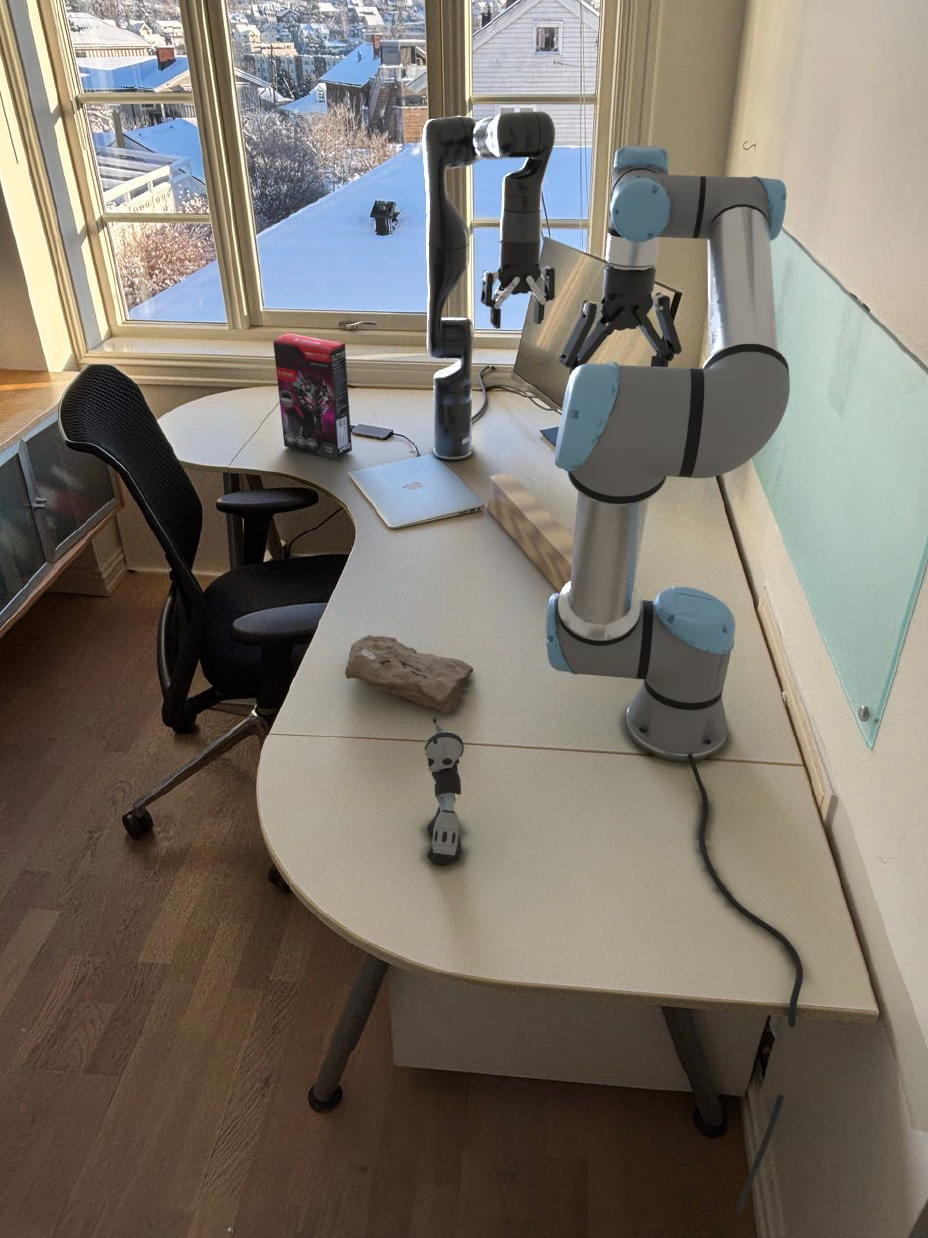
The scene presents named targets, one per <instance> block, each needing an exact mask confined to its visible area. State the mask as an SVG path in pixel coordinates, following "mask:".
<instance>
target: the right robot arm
mask: <svg viewBox="0 0 928 1238" xmlns="http://www.w3.org/2000/svg"><path fill="white" fill-rule="evenodd" d="M669 159H670V155H669V152H668V150H667V149H665V148H663V147H661V146H652V145H626V146H622V147H619V148H618V149H617V150H616V151H615V154H614V160H613V167H612V170H611V176H612V178H611V189H610V201H609V215H608V216H609V217H608V226H607V238H606V248H605V259H604V260H605V261H606V262H607V263H606V265H605V266H604V268H603V279H602V298H601V300H600V301H590V300H589V299H584V300H583V301H582V304H581V310H580V315H579V316H578V319H577V321H576V323H575V325H574V327H573V329H572V331H571V332H570V335H569V337H568V339H567V341H566V343H565V344H564V347H563V348H562V351H561V353H560V355H559V357H558V362H559V363H560V364H562V365H563V366H564V367H566V368H568V369H569V376H568V377H569V378H568V382H567V385H566V389H565V393H564V398H563V403H562V406H561V407H562V408H561V416H560V418H559V419H560V420H559V425H558V429H557V436H556V443H555V444H556V445H555V450H554V451H555V453H554V464H555V466H556V467H557V468H558V469H562V470H564V472H567V476H568V479H569V482H570V483H571V485H572V486H573V487H574V489H575V490H576V491H577V499H576V509H575V510H576V511H575V521H574V533H573V538H574V545H573V557H572V569H571V581H570V582H568V583H567V584H566V585H565V587H564V588H563V589H562V591H561V592H555V593H553V594H552V595H551V596H550V597H549V599H548V603H547V610H546V625H545V626H546V627H545V629H546V630H545V632H546V651H547V657H548V658H547V659H548V660H549V662H548V663H549V665H550V666H551V667H552V668H553V669H554V670H555V671H558V672H564V673H570V674H573V675H586V676H597V677H598V676H599V677H610V678H611V677H612V678H622V679H633V680H634V679H635V680H643V682H642V684H641V685H640V688H639V689H638V691H637V692H636V694H635V695H634V697H633V699H632V701H631V702H630V704H629V706H628V708H627V711H626V719H625V728H626V732H627V734H628V736H629V738H630V739H631V741H632V742H634V744H636V745H637V746H638V747H639V748H640V749H641V750H643V751H645V752H646V753H648V754H650V755H651V756H654V757H656V758H659V759H662V760H666V761H670V762H675V763H689V764H690V766H691V770H692V773H693V776H694V779H695V782H696V784H697V787H698V789H699V791H700V794H701V799H702V817H701V822H700V826H699V831H698V843H699V849H700V851H701V855H702V859H703V861H704V864H705V866H706V869H707V871H708V873H709V874H710V877H711V878H712V880H713V881H714V883H715V884H716V886H717V888H718V889H719V890H720V891H721V893H722V894H723V895H724V897H725V898H726V899H727V901H728V902H729V903H730V904H731V905H732V906H733V907H734V908H735V909H736V910H737V911H738V912H739V913H741V914H742V915H743V916H744V917H745V918H747V919H748V920H750V921H752V922H753V923H755V925H757V926H759V927H761V929H764V930H765V931H766V932H768V933H770V934H771V935H772V936H774V937H775V938H776V940H778V941H780V942H781V944H782V945H783V946H784V947H785V948H786V949H787V951H788V952H789V954H790V956H791V957H792V960H793V962H794V966H795V981H794V984H793V988H792V992H791V995H790V998H789V999H790V1000H789V1006H788V1007H789V1008H788V1015H787V1016H788V1017H787V1024H788V1026H789V1027H790V1028H795V1026H796V1017H797V1016H796V1014H797V1006H798V1001H799V996H800V992H801V989H802V988H801V987H802V984H803V979H804V969H803V964H802V961H801V958H800V956H799V953H798V952H797V950H796V949H795V947H794V946H793V944H792V943H791V942H790V941H789V939H787V937H785V935H783V934H782V933H781V932H780V931H779V930H777V929H776V928H774V927H773V926H771V925H770V924H769V923H768V922H766V921H764V920H763V919H761V918H759V917H758V916H756V915H755V914H754V913H752V912H751V911H749V910H748V909H746V908H745V907H744V906H743V905H742V904H741V903H739V902H738V900H737V899H736V898H735V897H734V895H733V894H732V893H731V892H730V891H729V890H728V889H727V887H726V886H725V885H724V883H723V882H722V880H721V879H720V877H719V876H718V873H717V872H716V871H715V869H714V867H713V864H712V862H711V860H710V856H709V853H708V850H707V846H706V841H705V839H706V838H705V837H706V828H707V824H708V818H709V811H710V810H709V809H710V807H709V806H710V805H709V798H708V794H707V792H706V789H705V786H704V784H703V781H702V778H701V776H700V773H699V770H698V767H697V764H696V762H700V761H703V760H706V759H709V758H711V757H714V755H716V754H718V752H720V751H721V750H722V748H723V747H724V744H725V743H726V740H727V739H726V738H727V734H728V721H727V716H726V712H725V708H724V707H725V706H724V701H723V692H724V686H725V682H726V678H727V672H728V668H729V664H730V659H731V654H732V651H733V649H734V646H735V632H736V620H735V617H734V614H733V612H732V610H731V609H730V608H729V607H728V605H726V603H724V602H723V601H722V600H720V599H718V598H717V596H714V595H713V594H711V593H708V592H707V591H704V590H701V589H698V588H693V587H688V586H671V587H670V588H665V589H662V590H661V591H659V592H658V593H657V595H656V597H655V598H654V600H646V599H640V598H639V595H638V593H637V592H636V590H635V588H634V586H635V582H636V575H637V570H638V564H639V558H640V553H641V547H642V541H643V537H644V536H643V535H644V531H645V530H644V529H645V524H646V518H647V514H648V507H649V501H650V499H651V498H653V497H654V496H656V495H657V494H658V492H659V491H661V489H662V488H663V486H664V484H665V483H666V481H667V477H675V478H690V479H709V478H714V477H717V476H722V475H724V474H727V473H730V472H732V471H734V470H736V469H738V468H740V467H742V466H743V465H744V464H746V463H747V462H748V461H750V460H751V459H752V458H753V457H755V456H756V455H757V454H758V453H759V452H760V451H761V450H763V448H764V447H765V446H766V445H767V444H768V442H769V441H770V439H771V438H772V437H773V435H774V434H775V432H777V429H778V428H779V426H780V424H781V422H782V420H783V418H784V416H785V414H786V410H787V407H788V403H789V400H790V392H791V381H790V379H791V378H790V368H789V363H788V360H787V358H786V357H785V355H784V354H783V353H782V352H781V351H780V350H778V349H779V348H778V335H777V320H776V308H775V306H776V305H775V293H774V291H775V290H774V279H773V263H772V251H771V250H772V249H771V241H774V240H775V239H777V238H778V237H779V235H780V233H781V231H782V228H783V224H784V220H785V215H786V210H787V209H786V208H787V187H786V184H785V183H784V182H783V181H782V180H780V179H776V178H768V177H760V176H758V175H755V176H753V175H752V176H711V175H686V174H685V175H684V174H669ZM660 238H670V239H673V238H674V239H699V240H707V303H708V304H707V308H708V309H707V311H708V318H707V319H708V358H707V359H706V361H705V362H704V364H703V365H702V368H693V367H674V366H673V367H672V366H669V363H670V362H671V361H673V360H674V358H675V355H680V354H681V353H682V352H683V349H682V345H681V343H680V338H679V337H678V332H677V330H676V326H675V323H674V319H673V317H672V316H673V315H672V313H671V297H670V296H668V295H666V294H665V293H663V292H660V291H659V292H657V293H655V295H654V296H653V295H652V293H653V292H654V288H655V281H656V272H657V269H656V267H655V266H654V265H655V264H657V262H658V259H659V258H658V257H659V248H660ZM652 308H653V309H654V312H655V314H656V315H655V316H656V318H657V321H658V324H659V327H660V330H661V334H662V336H663V339H664V340H663V339H662V337H661V336H660V335H659V333H658V332H657V330H656V329H655V327H654V326H653V325H654V324H653V322H652V321H651V320H650V318H649V317H648V314H649V312H650V311H651V310H652ZM599 313H601V314H602V315H601V316H600V317H599V319H598V320H597V321H596V323H595V319H596V318H598V316H599ZM594 323H595V327H594V328H593V329H592V327H593V325H594ZM637 328H639V330H640V331H641V332H642V334H643V336H644V337H645V339H646V340H647V341H648V343H649V344H650V347H652V348H653V350H654V351H655V353H656V355H651V361H650V366H648V365H624V364H623V365H622V364H618V362H616V361H608V362H606V363H588V362H589V361H590V359H591V358H592V357H593V356H594V354H595V353H596V352H597V351H598V349H599V348H600V347H601V345H602V344H603V343H604V341H605V340H606V339H607V337H609V336H611V335H612V334H613V333H614V332H615V331H618V332H621V331H625V330H627V329H628V330H637ZM591 329H592V331H591ZM590 331H591V332H590ZM784 1099H785V1095H782V1094H778V1093H777V1094H776V1098H775V1102H774V1104H773V1105H774V1106H773V1108H772V1111H771V1115H770V1118H769V1121H768V1124H767V1126H766V1130H765V1133H764V1135H763V1138H762V1141H761V1142H760V1145H759V1149H758V1151H757V1154H756V1156H755V1159H754V1161H753V1163H752V1166H751V1168H750V1171H749V1174H748V1176H747V1179H746V1182H745V1184H744V1186H743V1189H742V1191H741V1194H740V1198H739V1200H738V1203H737V1207H736V1209H735V1211H736V1213H737V1214H738V1215H741V1214H742V1213H743V1210H744V1207H745V1204H746V1201H747V1198H748V1196H749V1193H750V1190H751V1189H752V1186H753V1183H754V1180H755V1178H756V1176H757V1173H758V1171H759V1168H760V1166H761V1163H762V1160H763V1158H764V1156H765V1153H766V1151H767V1148H768V1146H769V1143H770V1141H771V1139H772V1135H773V1133H774V1129H775V1127H776V1124H777V1122H778V1118H779V1115H780V1112H781V1109H782V1106H783V1102H784Z"/></svg>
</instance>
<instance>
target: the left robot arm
mask: <svg viewBox="0 0 928 1238" xmlns="http://www.w3.org/2000/svg"><path fill="white" fill-rule="evenodd" d="M422 133H423V134H422V152H423V153H422V155H423V166H424V179H425V192H426V215H427V216H426V263H427V266H426V267H427V289H428V290H427V291H428V293H427V315H426V317H427V318H426V350H427V353H428V356H429V357H430V358H431V359H433V360H457V361H456V362H454V363H453V364H452V365H450V366H448V367H446V368H443V369H440V370H438V371H436V373H435V374H434V375H433V454H434V456H435V457H437V458H439V459H442V460H446V461H459V460H464V459H467V458H469V457H470V456H471V455H472V439H473V437H472V422H473V421H474V420H475V419H477V418H479V417H480V415H481V414H482V413H483V412H484V410H485V408H486V406H487V401H488V398H487V397H488V396H487V390H486V387H485V385H484V381H483V379H482V375H483V373H485V371H486V370H488V369H489V365H490V364H488V365H486V366H485V367H483V368H482V369H481V370H480V371H479V373H478V375H477V377H478V381H479V383H480V387H481V390H482V394H483V403H482V406H481V407H480V409H479V410H478V411H477V412H476V413H474V415H473V416H472V410H473V409H472V407H473V396H472V395H473V356H474V355H473V353H474V342H475V341H474V339H475V337H474V336H475V331H474V330H475V329H474V325H473V321H472V320H471V319H470V318H468V317H442V315H443V311H444V308H445V306H446V303H447V302H448V300H449V298H450V296H451V294H452V293H453V291H454V289H455V288H456V287H457V286H458V284H459V283H460V281H461V279H462V278H463V277H464V275H465V273H466V271H467V269H468V268H469V263H470V231H469V228H468V226H467V223H466V222H465V220H464V218H463V216H462V215H461V213H460V212H459V210H458V208H457V206H455V204H454V202H453V200H452V199H451V196H450V193H449V191H448V187H447V180H446V179H447V178H446V171H447V170H453V169H458V168H459V169H460V168H465V167H470V166H472V165H474V164H476V163H477V162H480V161H482V160H483V159H485V160H488V161H489V160H490V161H491V160H492V161H493V160H505V159H525V158H526V160H525V162H524V164H523V166H522V168H520V169H519V170H515V171H513V172H510V173H508V174H506V175H505V176H504V177H503V181H502V195H501V199H502V200H501V201H502V202H501V217H500V221H499V250H498V251H499V253H498V255H499V257H498V258H499V259H498V263H499V264H498V265H499V267H498V270H497V271H489V270H486V269H485V270H483V271H482V278H481V290H480V291H481V292H480V302H481V304H483V305H485V306H486V307H487V308H490V314H489V315H490V318H489V322H490V324H491V325H492V327H493V328H494V329H496V330H498V329H499V330H500V329H501V323H502V321H501V320H502V319H501V318H502V309H501V306H503V303H504V302H505V301H506V300H507V299H508V298H509V296H511V295H512V296H515V295H519V294H523V295H525V294H526V295H527V294H531V296H532V297H533V299H534V303H533V319H532V321H533V323H534V324H535V325H542V322H543V321H544V319H545V308H546V307H545V305H546V303H547V302H549V301H553V300H554V299H555V298H556V288H555V287H556V269H555V267H552V266H550V265H548V264H545V265H544V266H543V267H540V262H541V243H542V234H543V230H542V224H543V223H542V198H543V196H542V195H543V184H544V181H545V176H546V173H547V169H548V167H549V162H550V159H551V156H552V153H553V149H554V146H555V141H556V128H555V123H554V121H553V119H552V117H551V116H550V115H549V113H547V112H545V111H540V110H539V111H514V112H504V113H500V114H498V115H496V116H490V117H486V118H483V119H482V120H480V119H477V118H475V117H470V116H465V115H457V116H456V115H455V116H448V117H440V118H433V119H429V120H427V121H426V123H425V125H424V127H423V131H422ZM540 277H541V278H542V279H543V293H542V291H541V289H540V287H539V286H538V285H537V282H538V280H539V279H540ZM497 279H498V282H499V284H498V286H497V288H496V289H495V291H494V292H495V293H494V294H493V288H494V285H495V284H496V281H497ZM490 369H493V370H495V366H494V365H493V366H492V367H490Z"/></svg>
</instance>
